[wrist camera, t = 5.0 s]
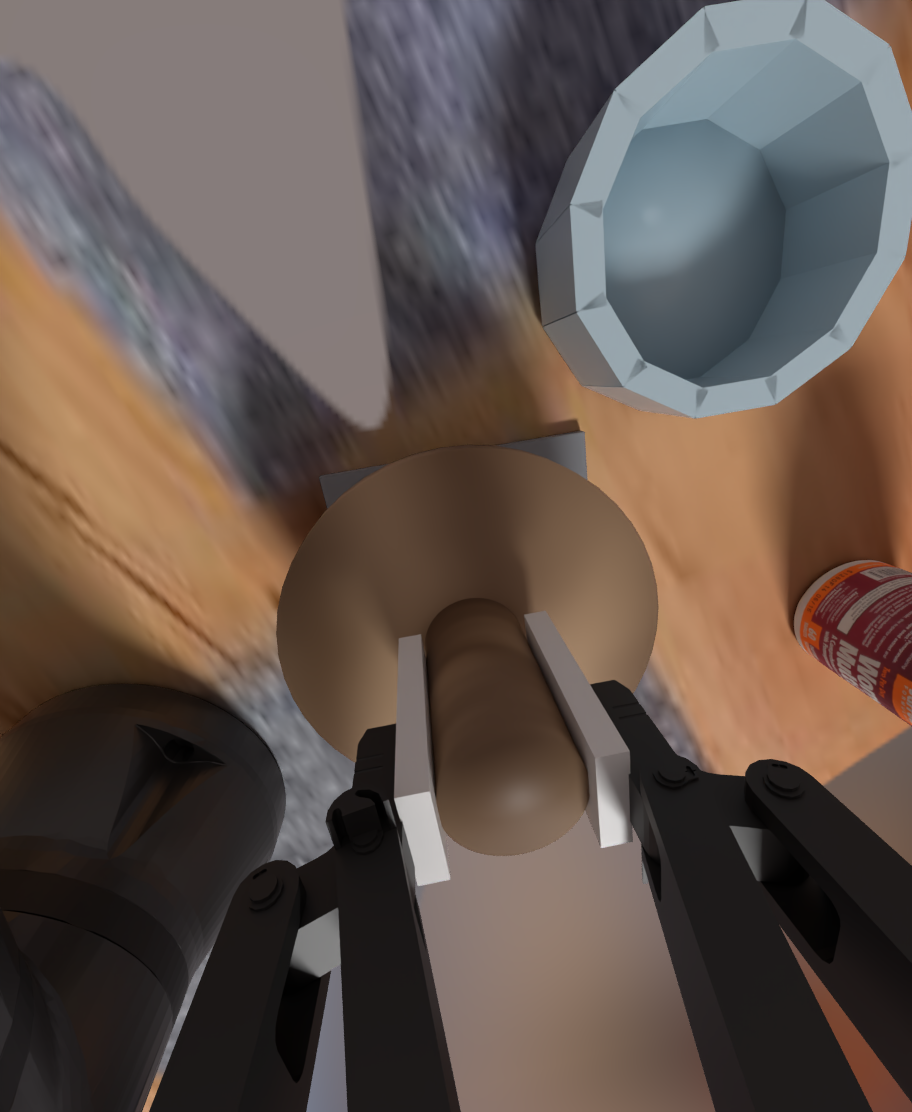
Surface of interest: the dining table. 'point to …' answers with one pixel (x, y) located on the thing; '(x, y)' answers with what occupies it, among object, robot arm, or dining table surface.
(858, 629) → the pill bottle
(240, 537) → the dining table surface
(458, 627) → the lid
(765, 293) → the bowl
